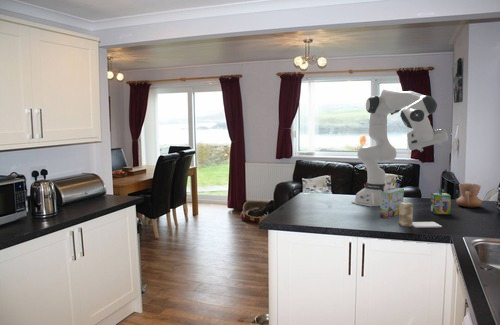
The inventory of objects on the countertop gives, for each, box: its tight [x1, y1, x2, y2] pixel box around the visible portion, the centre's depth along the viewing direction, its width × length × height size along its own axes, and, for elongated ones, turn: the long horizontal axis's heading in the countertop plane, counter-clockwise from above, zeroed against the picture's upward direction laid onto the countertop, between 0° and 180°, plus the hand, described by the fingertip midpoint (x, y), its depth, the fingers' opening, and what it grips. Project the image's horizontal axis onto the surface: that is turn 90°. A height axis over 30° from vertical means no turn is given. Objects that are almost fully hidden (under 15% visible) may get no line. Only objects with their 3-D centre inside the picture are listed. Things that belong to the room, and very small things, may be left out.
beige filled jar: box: [398, 201, 414, 228], centre depth 212 cm, size 5×5×12 cm
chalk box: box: [430, 187, 452, 215], centre depth 240 cm, size 9×9×15 cm
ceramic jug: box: [456, 182, 483, 209], centre depth 257 cm, size 18×14×14 cm
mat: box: [412, 221, 443, 229], centre depth 213 cm, size 14×9×1 cm, turn 91°
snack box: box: [379, 187, 405, 220], centre depth 236 cm, size 21×6×15 cm, turn 138°
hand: (430, 148), depth 221 cm, fingers open, 8 cm apart
